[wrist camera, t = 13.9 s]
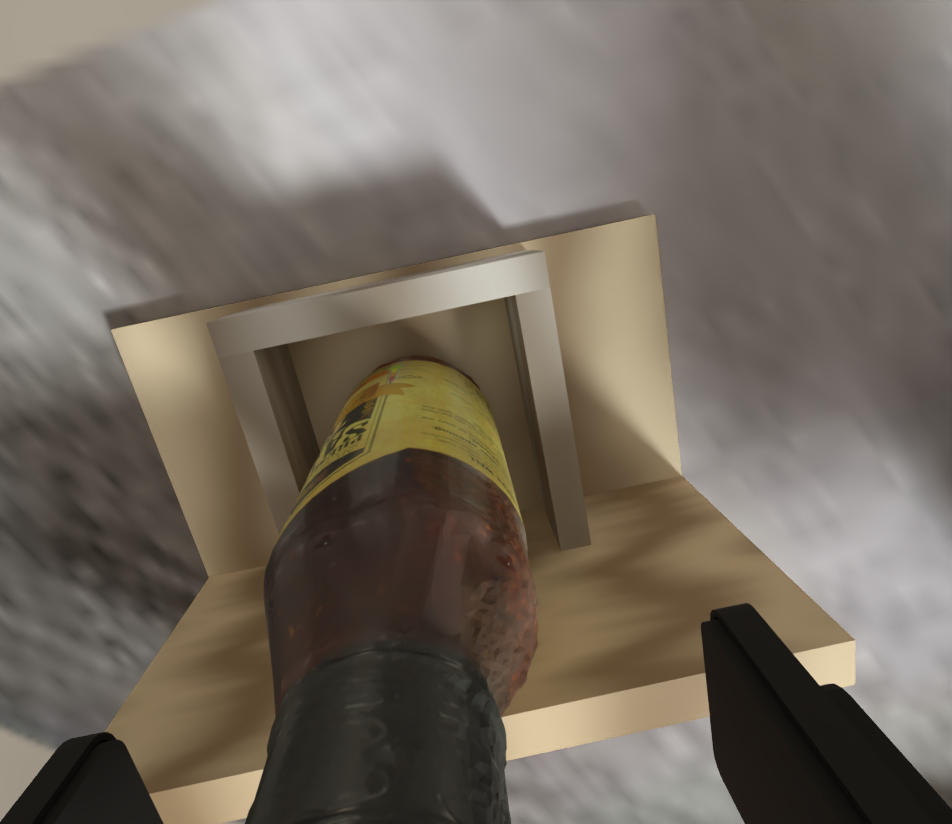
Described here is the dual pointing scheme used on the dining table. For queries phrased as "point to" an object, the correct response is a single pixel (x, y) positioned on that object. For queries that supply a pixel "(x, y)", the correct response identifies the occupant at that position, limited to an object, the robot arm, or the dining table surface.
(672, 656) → the condiment rack
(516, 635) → the sauce bottle
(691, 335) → the dining table surface
